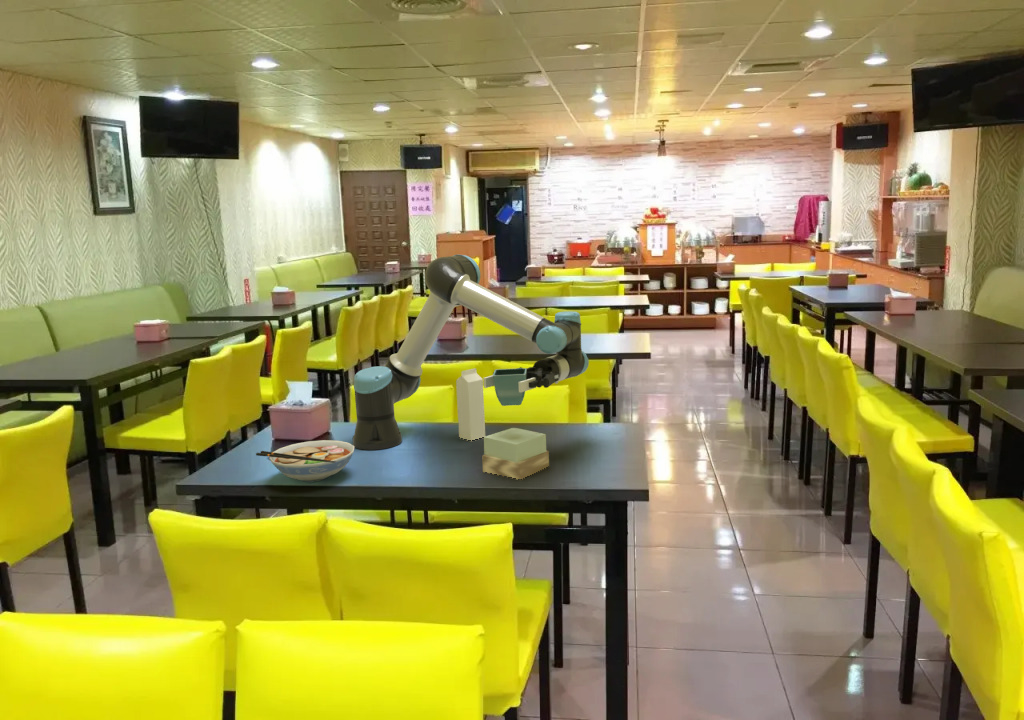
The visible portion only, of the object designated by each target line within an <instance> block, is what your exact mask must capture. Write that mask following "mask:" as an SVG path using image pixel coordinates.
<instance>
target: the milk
mask: <svg viewBox="0 0 1024 720" xmlns="http://www.w3.org/2000/svg"><path fill="white" fill-rule="evenodd" d="M460 373H461V376H459V377H458V378H457V379H456V382H455V383H456V384H455V386H456V401H457V403H456V404H457V419H458V420H457V421H458V422H457V423H458V438H459V437H460V438H459V439H461V438H463V439H462V440H464V439H467V440H466V441H468V440H471V441H470V442H473V441H472V440H475V439H478V440H480V439H479V438H482V437H485V436H486V424H485V422H486V421H485V404H484V403H485V402H484V379H483V378H482V377H481V376H480V375H479V374H478V373H477V368H471V369H470V368H469V369H466V370H462V371H460ZM482 439H483V438H482ZM475 441H476V440H475Z"/></svg>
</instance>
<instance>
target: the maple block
mask: <svg viewBox="0 0 1024 720" xmlns="http://www.w3.org/2000/svg"><path fill="white" fill-rule="evenodd" d="M549 453H550V451H549V450H546V452H545V453H542V454H539V455H536V456H534V457H531V458H528V459H526V460H523V461H520V462H517V463H516V462H512V461H508V460H504V459H500V458H496V457H492V456H488V455H484V454H483V455H482V456H481V457H482V458H481V459H482V460H481V461H482V462H481V463H482V473H485V472H487V473H486V474H490V473H492V475H494V474H497V475H496V476H499V475H502V476H501V477H504V476H507V477H506V478H508V477H512V478H511V479H513V478H516V479H515V480H518V479H522V480H524V479H526V478H525V477H527V476H529V477H531V476H533V475H535V474H537V473H539V472H541V471H543V470H545V469H547V468H546V467H548V466H549V467H550V458H549V457H550V454H549ZM549 467H548V468H549ZM544 468H545V469H544ZM542 469H543V470H542ZM540 470H541V471H540ZM538 471H539V472H538ZM536 472H537V473H536ZM534 473H535V474H534ZM532 474H533V475H532ZM530 475H531V476H530ZM523 478H524V479H523ZM527 478H528V477H527Z"/></svg>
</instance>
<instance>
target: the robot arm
mask: <svg viewBox="0 0 1024 720" xmlns="http://www.w3.org/2000/svg"><path fill="white" fill-rule="evenodd" d="M424 280H425V281H424V282H425V284H426V285H425V286H426V287H427V289H428V290H429V295H428V297H427V299H426V301H425V303H424V304H423V305H422V308H421V309H420V312H419V314H418V315H417V317H416V319H415V321H414V322H413V324H412V326H411V328H410V329H409V331H408V333H407V335H406V337H405V339H404V341H403V342H402V344H401V346H400V348H399V349H398V351H397V353H393V354H391V355H390V356H389V358H388V359H387V362H386V363H385V365H383V366H381V365H379V366H376V365H375V366H371V367H366V368H363V369H361V370H358V371H357V372H356V374H354V376H353V390H354V399H355V402H354V403H355V412H356V414H355V415H356V424H355V429H354V433H353V434H354V435H353V436H352V445H353V446H355V447H354V449H355V448H356V449H359V450H366V451H371V450H372V451H374V450H384V449H389V448H394V447H396V446H398V445H400V444H401V443H402V442H403V441H402V440H403V439H402V433H401V432H402V431H400V428H399V425H398V423H397V420H396V417H395V405H394V404H395V403H399V402H400V401H403V400H405V399H406V400H407V399H408V398H410V397H412V396H413V395H414V394H415V393H416V392H417V391H418V390H419V387H420V385H421V376H422V374H423V368H422V365H423V362H424V361H425V360H426V358H427V356H428V354H429V352H430V351H431V349H432V347H433V346H434V343H435V342H436V341H437V338H438V337H439V335H440V333H441V331H442V329H443V328H444V326H445V325H446V323H447V321H448V319H449V318H450V316H451V314H452V312H453V310H454V309H455V308H456V307H459V306H463V307H465V308H466V309H469V310H471V311H473V312H475V313H477V314H478V315H480V316H482V317H484V318H486V319H487V320H490V321H492V322H493V323H496V324H498V325H499V326H501V327H503V328H505V329H508V330H509V331H512V332H513V333H515V334H517V335H518V336H520V337H523V338H525V339H527V340H529V341H531V342H533V343H535V344H536V345H537V347H538V349H539V350H540V351H541V352H542V353H545V354H547V355H551V354H555V353H556V354H555V355H552V356H548V357H546V358H541V359H539V360H536V361H535V362H534V364H533V366H530V367H527V368H526V369H527V374H526V380H524V381H520V382H518V384H519V392H524V391H525V392H527V391H530V390H534V389H537V388H539V389H540V388H542V386H543V388H545V389H547V388H549V387H550V386H551V385H553V384H559V382H561V381H564V380H567V379H569V378H571V379H572V378H574V377H578V376H580V375H581V374H583V373H585V372H586V371H587V369H589V368H588V367H589V363H590V360H589V357H588V356H587V354H586V352H584V351H583V350H582V323H581V321H582V320H581V314H580V313H579V312H577V311H569V310H568V311H559V312H557V313H555V316H554V321H551V320H550V319H547V318H545V317H543V316H541V315H540V314H538V313H536V312H534V311H532V310H530V309H528V308H526V307H524V306H522V305H520V304H518V303H516V302H514V301H512V300H510V299H508V298H506V297H504V296H502V295H501V294H499V293H497V292H494V291H493V290H491V289H489V288H487V287H486V286H485V287H484V286H482V285H481V284H479V283H480V281H481V271H480V267H479V265H478V263H477V262H476V261H475V260H474V259H473V258H472V257H470V256H468V255H466V254H454V255H449V256H442V257H438V258H434V260H432V261H431V262H430V263H429V264H428V265H427V267H426V269H425V272H424ZM519 368H522V367H521V366H520V367H518V368H516V369H519ZM493 374H494V372H493V373H492V375H489V376H486V377H483V378H482V379H483V389H487V388H491V387H495V386H494V380H493Z"/></svg>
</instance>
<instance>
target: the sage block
mask: <svg viewBox="0 0 1024 720" xmlns="http://www.w3.org/2000/svg"><path fill="white" fill-rule="evenodd" d="M483 451H484V452H483V455H488V456H492V457H496V458H500V459H504V460H508V461H512V462H516V463H517V462H520V461H523V460H526V459H528V458H531V457H534V456H536V455H539V454H542V453H545V452H546V451H547V434H546V433H541V432H537V431H534V430H533V431H532V430H527V429H524V428H523V429H522V428H517V427H511V428H508V429H504V430H502V431H499V432H495V433H492V434H489V435H485V437H484V438H483Z"/></svg>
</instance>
